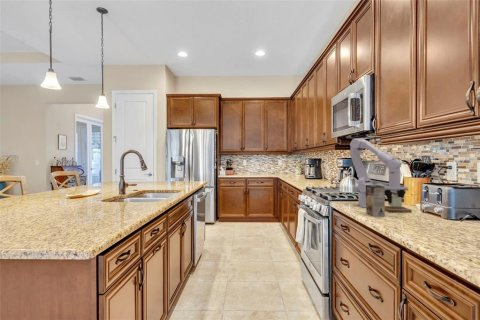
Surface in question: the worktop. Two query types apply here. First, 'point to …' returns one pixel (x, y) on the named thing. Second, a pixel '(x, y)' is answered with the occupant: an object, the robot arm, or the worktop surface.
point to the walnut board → (397, 209)
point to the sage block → (396, 201)
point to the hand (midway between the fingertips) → (394, 202)
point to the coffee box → (375, 200)
